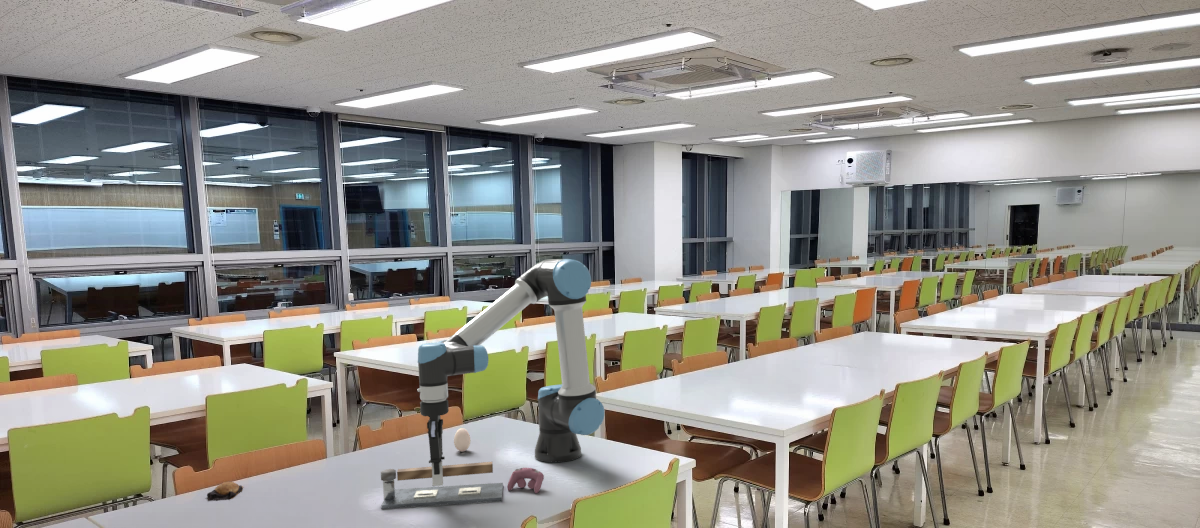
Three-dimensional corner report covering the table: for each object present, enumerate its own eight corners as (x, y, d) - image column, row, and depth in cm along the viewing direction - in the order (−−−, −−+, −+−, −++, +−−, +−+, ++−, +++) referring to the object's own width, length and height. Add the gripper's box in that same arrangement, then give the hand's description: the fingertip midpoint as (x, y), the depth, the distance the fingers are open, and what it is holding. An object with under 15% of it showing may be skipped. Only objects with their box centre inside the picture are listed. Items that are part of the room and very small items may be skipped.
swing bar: (380, 483, 199) (379, 474, 198) (382, 478, 202) (381, 469, 202) (492, 473, 204) (492, 465, 204) (492, 469, 208) (492, 460, 207)
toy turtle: (216, 490, 215) (215, 478, 215) (246, 488, 217) (245, 476, 216) (202, 503, 205) (201, 490, 205) (234, 501, 206) (233, 488, 206)
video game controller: (543, 495, 206) (546, 470, 209) (537, 493, 202) (540, 467, 205) (511, 492, 209) (515, 467, 212) (505, 490, 205) (509, 464, 208)
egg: (462, 448, 250) (462, 425, 249) (474, 450, 246) (473, 427, 246) (450, 452, 245) (450, 429, 245) (462, 454, 242) (461, 431, 242)
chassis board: (503, 486, 210) (502, 467, 210) (501, 501, 198) (501, 481, 198) (388, 493, 207) (387, 474, 207) (379, 509, 195) (378, 488, 195)
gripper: (423, 395, 205) (426, 478, 206) (416, 405, 193) (420, 493, 193) (450, 394, 206) (453, 476, 207) (445, 403, 193) (449, 491, 194)
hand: (437, 484), depth 200 cm, fingers closed
